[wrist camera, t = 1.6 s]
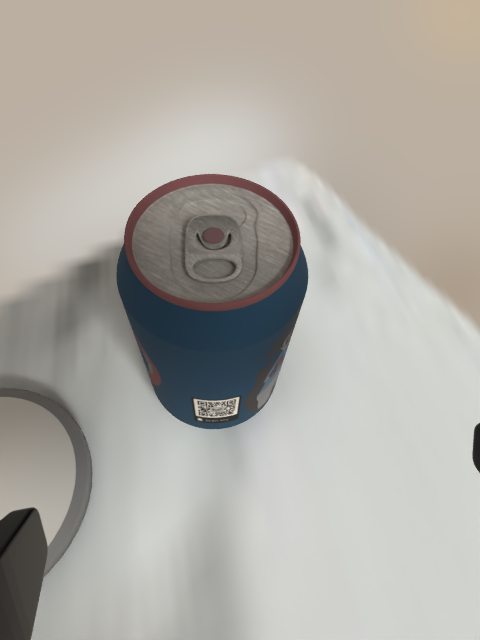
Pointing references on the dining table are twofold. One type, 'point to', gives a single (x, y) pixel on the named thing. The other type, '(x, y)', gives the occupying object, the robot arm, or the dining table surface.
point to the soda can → (212, 294)
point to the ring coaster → (43, 466)
